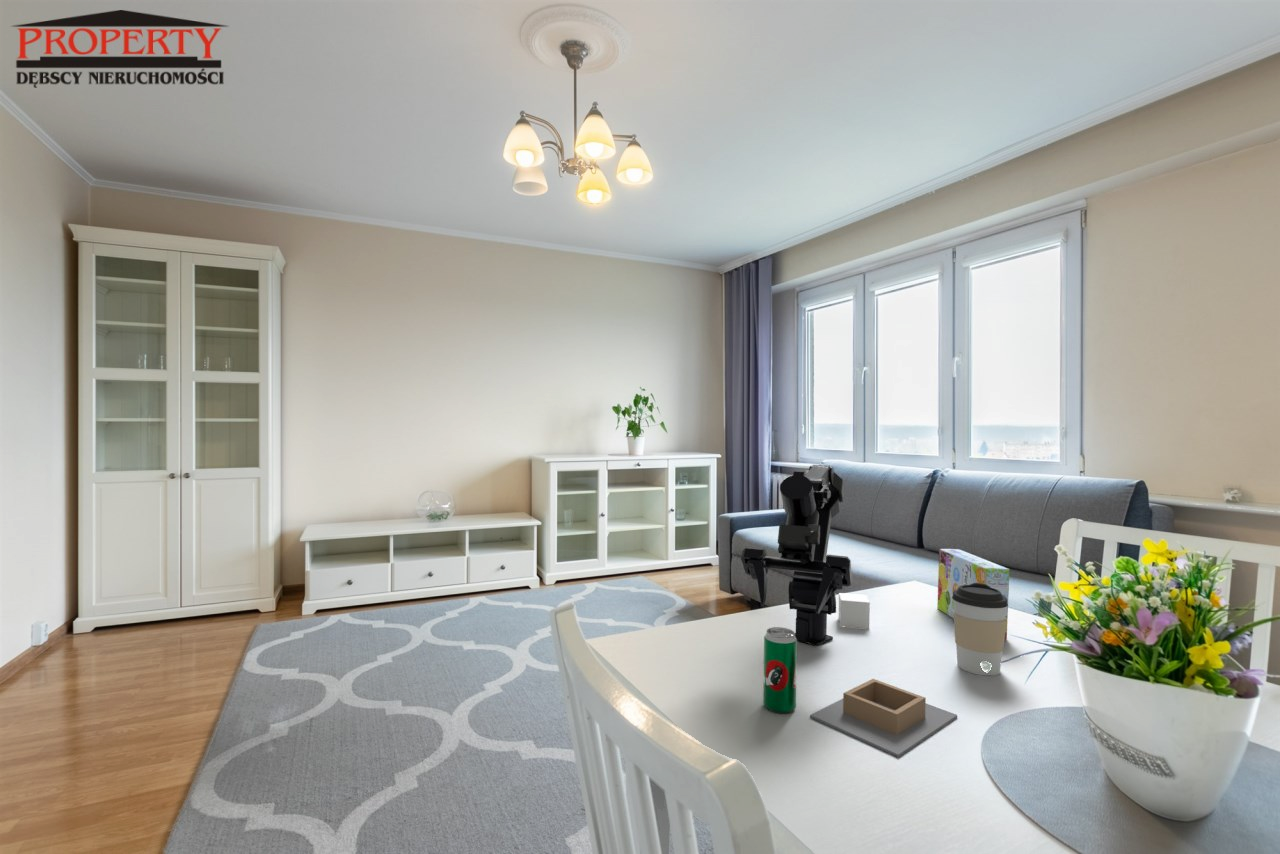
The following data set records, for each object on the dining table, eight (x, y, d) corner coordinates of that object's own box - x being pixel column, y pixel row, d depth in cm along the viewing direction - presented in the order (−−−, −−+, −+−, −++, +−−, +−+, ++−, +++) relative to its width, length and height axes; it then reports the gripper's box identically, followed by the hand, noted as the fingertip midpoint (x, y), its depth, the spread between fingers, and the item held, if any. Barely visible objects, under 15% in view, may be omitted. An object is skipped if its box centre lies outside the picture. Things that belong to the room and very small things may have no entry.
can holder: (872, 685, 104) (872, 666, 103) (957, 717, 93) (957, 695, 93) (810, 717, 92) (810, 695, 92) (898, 757, 81) (898, 732, 81)
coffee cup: (1006, 682, 106) (1007, 597, 106) (948, 670, 110) (949, 589, 110) (1007, 665, 113) (1008, 585, 113) (953, 654, 118) (954, 578, 118)
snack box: (1010, 640, 127) (1011, 568, 127) (983, 639, 127) (984, 568, 127) (958, 608, 148) (959, 547, 148) (935, 608, 148) (936, 547, 148)
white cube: (838, 618, 140) (838, 592, 140) (865, 621, 138) (866, 594, 138) (840, 627, 134) (841, 600, 134) (869, 629, 132) (869, 602, 132)
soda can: (801, 713, 93) (802, 636, 93) (770, 715, 92) (771, 637, 92) (788, 698, 98) (789, 625, 98) (758, 700, 97) (759, 626, 97)
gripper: (744, 503, 111) (727, 576, 101) (851, 510, 103) (844, 590, 94) (753, 538, 118) (738, 610, 108) (854, 547, 111) (848, 625, 101)
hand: (789, 608), depth 103 cm, fingers open, 9 cm apart
